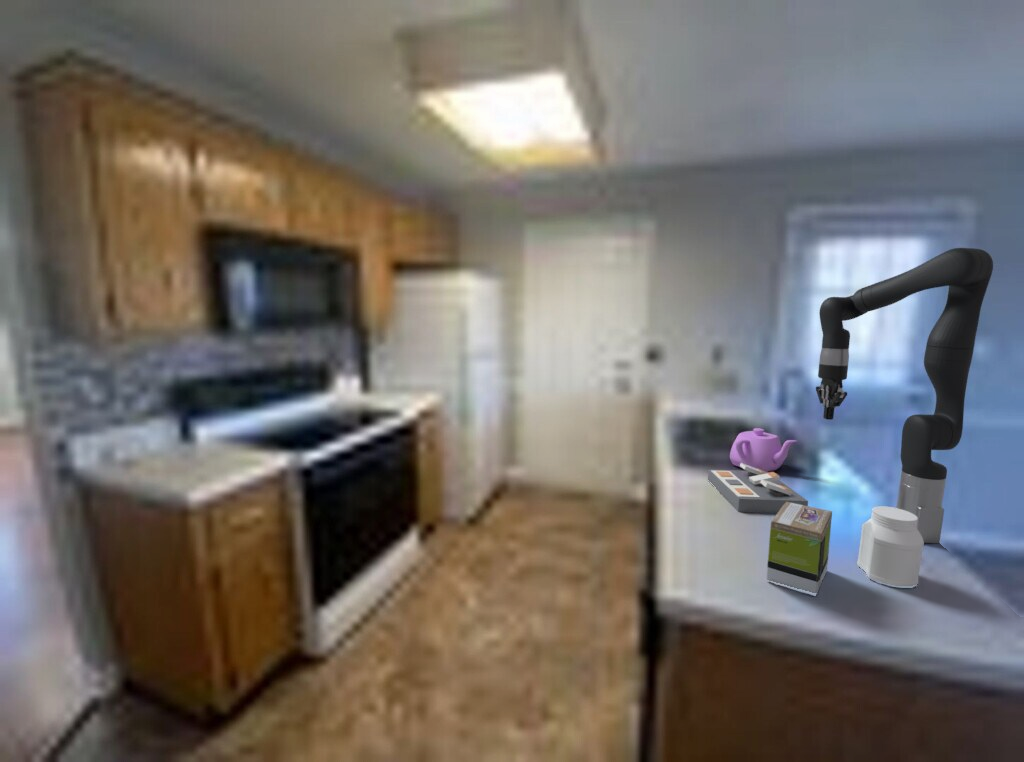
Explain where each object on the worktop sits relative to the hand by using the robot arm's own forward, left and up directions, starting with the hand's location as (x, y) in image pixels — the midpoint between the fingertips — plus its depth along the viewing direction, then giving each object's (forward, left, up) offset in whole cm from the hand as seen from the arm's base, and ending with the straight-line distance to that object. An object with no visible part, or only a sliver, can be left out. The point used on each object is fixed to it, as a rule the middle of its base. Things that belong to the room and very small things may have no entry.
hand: (828, 418), depth 158 cm
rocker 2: (+2, +17, -20) cm, 26 cm away
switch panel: (+2, +20, -26) cm, 33 cm away
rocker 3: (-6, +17, -20) cm, 27 cm away
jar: (-46, +10, -27) cm, 54 cm away
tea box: (-48, +31, -27) cm, 63 cm away
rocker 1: (+10, +17, -20) cm, 28 cm away
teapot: (+32, +6, -27) cm, 42 cm away
